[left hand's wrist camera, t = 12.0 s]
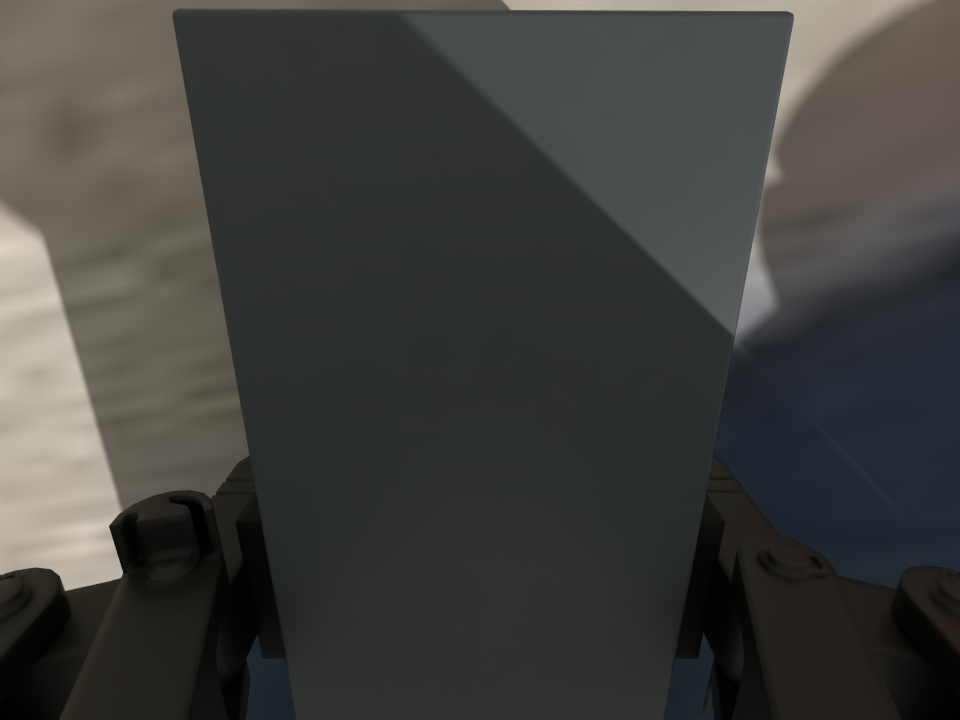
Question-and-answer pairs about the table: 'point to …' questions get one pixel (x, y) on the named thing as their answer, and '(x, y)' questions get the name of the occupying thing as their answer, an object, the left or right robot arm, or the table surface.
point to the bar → (481, 334)
